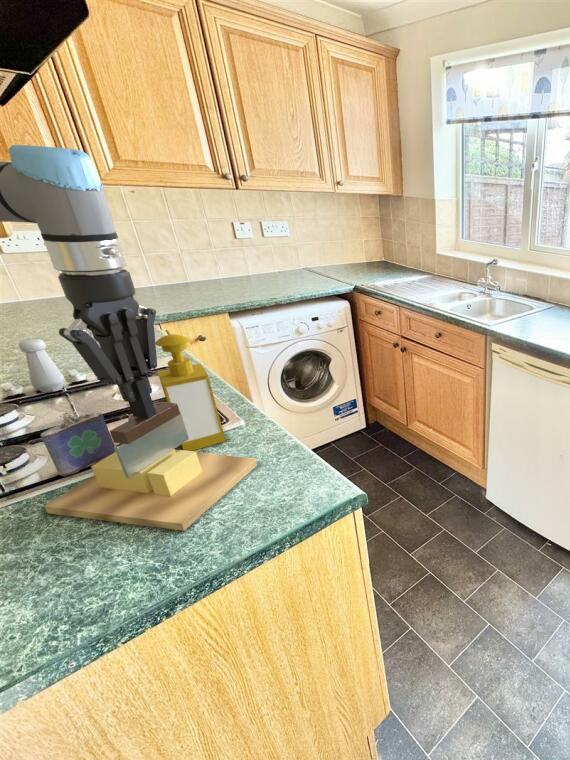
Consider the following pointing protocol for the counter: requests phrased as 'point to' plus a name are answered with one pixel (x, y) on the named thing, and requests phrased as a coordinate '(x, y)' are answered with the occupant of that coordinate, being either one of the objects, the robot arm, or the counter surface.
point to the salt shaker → (41, 366)
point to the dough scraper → (149, 438)
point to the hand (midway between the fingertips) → (145, 414)
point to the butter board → (157, 497)
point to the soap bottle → (190, 394)
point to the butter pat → (174, 472)
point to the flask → (78, 442)
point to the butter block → (114, 476)
